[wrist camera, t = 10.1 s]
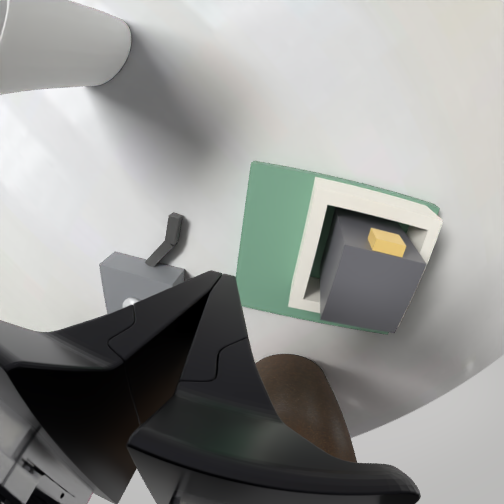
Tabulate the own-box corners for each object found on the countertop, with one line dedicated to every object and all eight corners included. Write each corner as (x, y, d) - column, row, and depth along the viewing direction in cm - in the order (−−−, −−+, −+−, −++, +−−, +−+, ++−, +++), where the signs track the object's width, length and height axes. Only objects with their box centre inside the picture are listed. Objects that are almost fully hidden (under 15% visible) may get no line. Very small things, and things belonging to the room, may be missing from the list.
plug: (377, 278, 20) (394, 333, 14) (319, 266, 20) (320, 319, 15) (399, 213, 17) (431, 253, 12) (337, 197, 18) (348, 232, 13)
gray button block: (184, 331, 27) (172, 351, 24) (122, 311, 28) (108, 328, 25) (186, 214, 22) (169, 228, 19) (111, 201, 22) (90, 212, 20)
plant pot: (191, 327, 26) (112, 476, 12) (357, 307, 22) (373, 508, 8) (240, 417, 32) (205, 530, 18) (363, 409, 28) (363, 539, 14)
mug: (151, 31, 16) (25, -5, 5) (105, 103, 19) (-24, 120, 8) (82, -3, 14) (-22, -22, 4) (47, 58, 17) (-57, 65, 7)
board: (385, 326, 22) (393, 360, 19) (235, 296, 24) (222, 327, 20) (434, 204, 17) (457, 223, 14) (253, 160, 19) (240, 171, 15)
